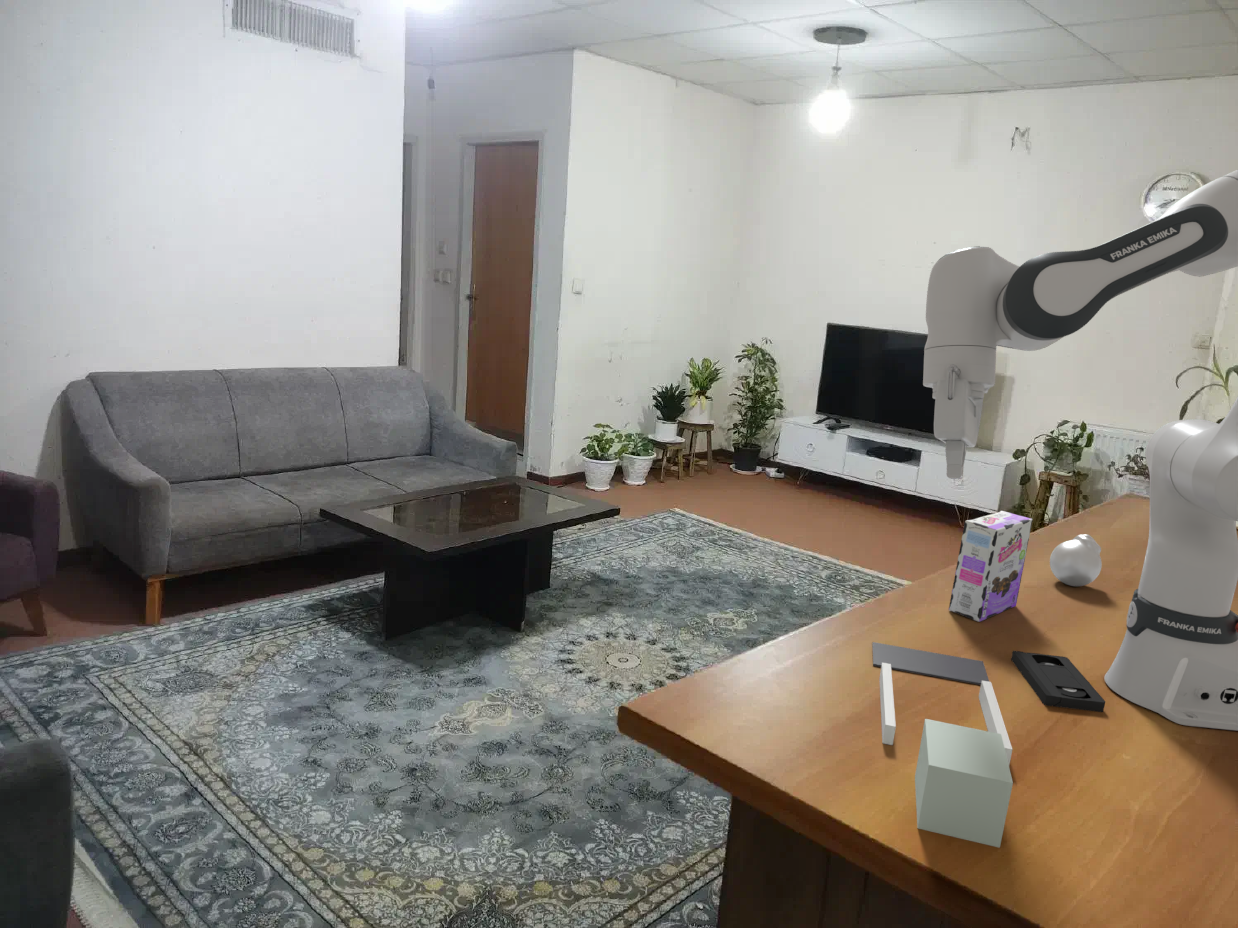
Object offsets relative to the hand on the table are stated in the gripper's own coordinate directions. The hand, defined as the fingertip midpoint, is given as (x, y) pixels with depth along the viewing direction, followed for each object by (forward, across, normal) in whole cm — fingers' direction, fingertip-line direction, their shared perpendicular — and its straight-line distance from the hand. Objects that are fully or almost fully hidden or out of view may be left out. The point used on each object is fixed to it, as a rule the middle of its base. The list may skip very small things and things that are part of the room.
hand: (954, 478), depth 116 cm
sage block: (+36, -20, -3) cm, 42 cm away
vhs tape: (+29, +20, -13) cm, 38 cm away
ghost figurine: (+18, +69, -16) cm, 73 cm away
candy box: (+22, +44, -2) cm, 49 cm away
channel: (+30, +5, +2) cm, 30 cm away
